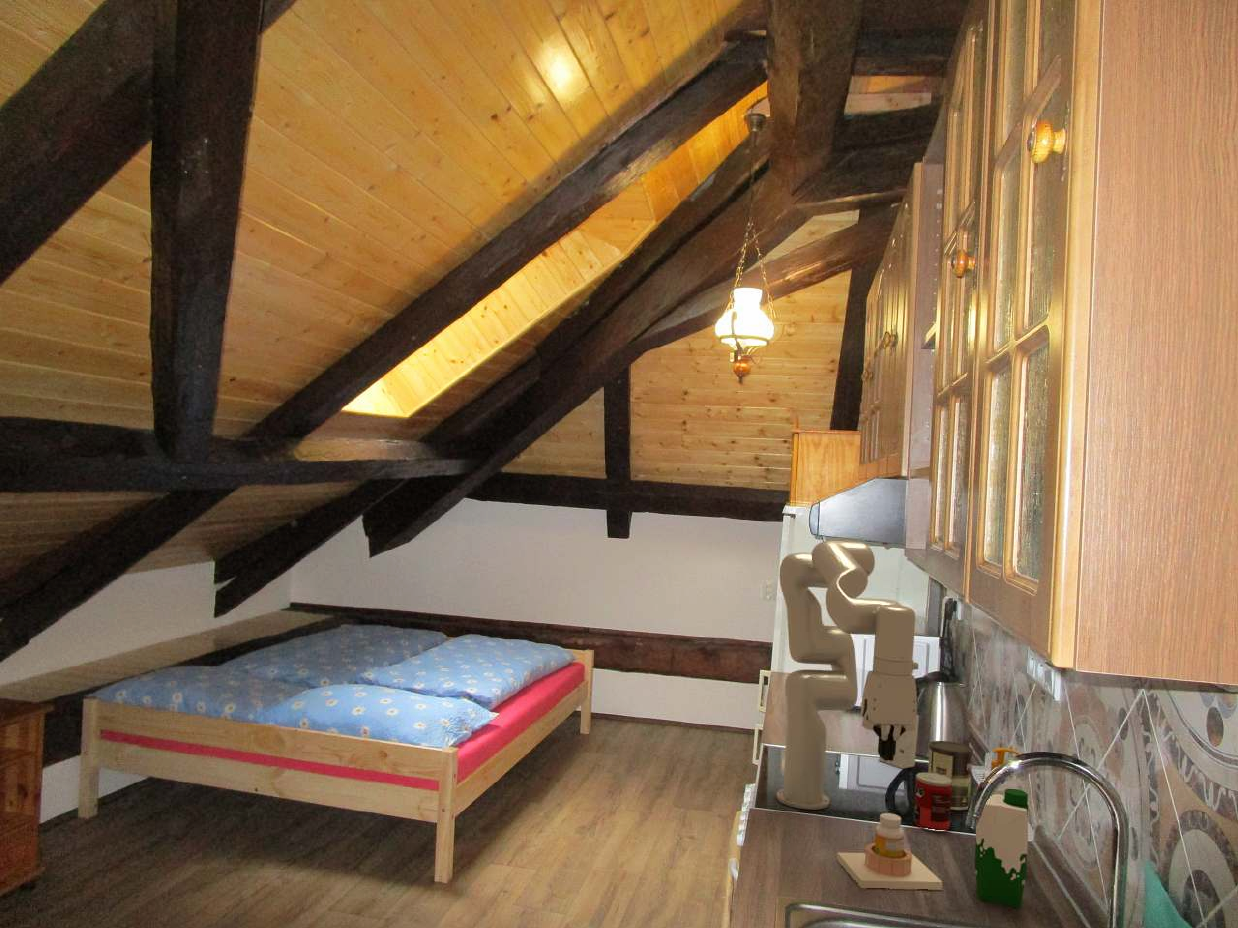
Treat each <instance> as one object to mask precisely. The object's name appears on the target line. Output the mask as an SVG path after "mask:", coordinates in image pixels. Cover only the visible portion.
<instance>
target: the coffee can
mask: <svg viewBox="0 0 1238 928" xmlns="http://www.w3.org/2000/svg"><path fill="white" fill-rule="evenodd" d="M928 747H929V750H928V751H929V752H928V753H929V754H928V771H927V773H934V774H939V775H943V776H945V777H948V778H949V779H951V780H952V796H951V810H952V811H966V810H969V809H968V806H969V803H970V804H971V791H972V790H971V788H972V787H971V786H972V785H971V784H972V767H973V764H972V763H973V753H974V749H973V748H972V747H971V746H969V745H966V744H963V743H961V742H960V743H959V742H953V741H949V740H948V741H947V740H934V741H930V742H929V744H928Z"/></svg>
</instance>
